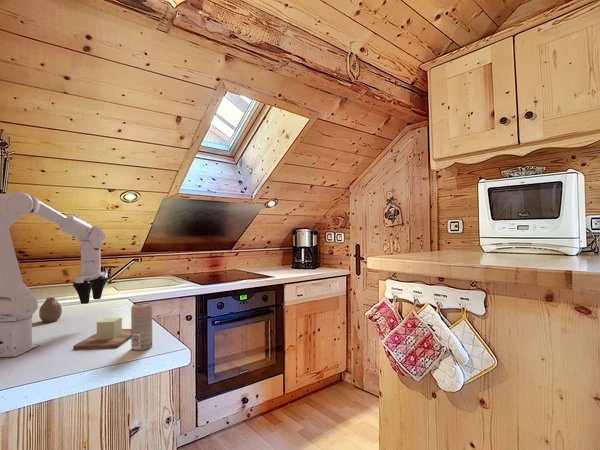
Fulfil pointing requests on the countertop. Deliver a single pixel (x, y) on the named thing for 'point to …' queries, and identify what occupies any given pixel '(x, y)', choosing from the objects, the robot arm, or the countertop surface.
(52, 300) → the vase
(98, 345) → the walnut board
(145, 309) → the energy drink
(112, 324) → the sage block
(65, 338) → the countertop surface
